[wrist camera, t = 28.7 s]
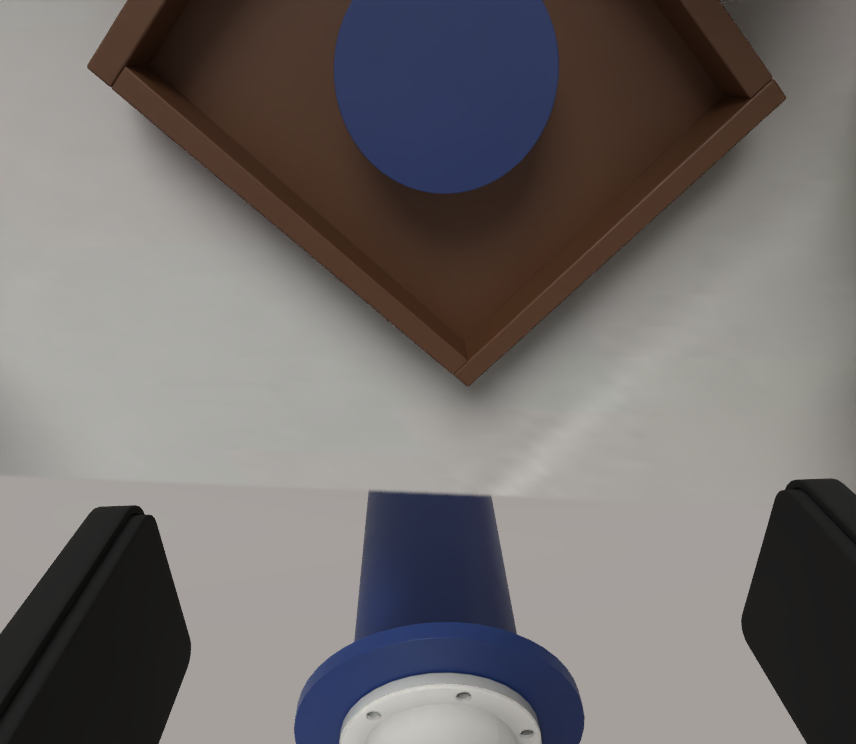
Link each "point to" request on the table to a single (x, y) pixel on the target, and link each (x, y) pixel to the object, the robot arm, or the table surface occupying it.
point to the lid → (446, 87)
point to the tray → (460, 212)
